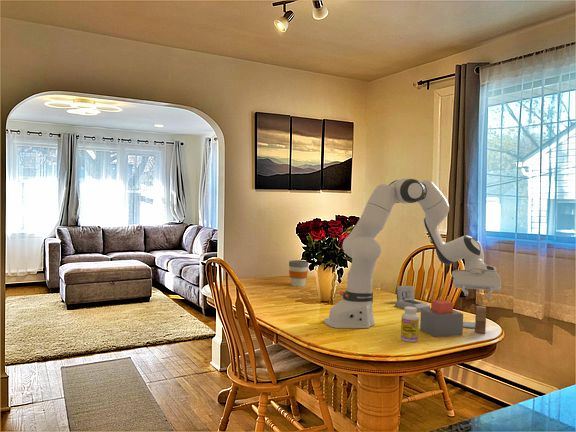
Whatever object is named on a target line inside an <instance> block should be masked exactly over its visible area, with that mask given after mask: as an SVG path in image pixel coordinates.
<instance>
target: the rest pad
mask: <svg viewBox="0 0 576 432" xmlns="http://www.w3.org/2000/svg"><path fill="white" fill-rule="evenodd" d="M463 329H472V330H473V329H474V330H475V322H472V321H463Z"/></svg>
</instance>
